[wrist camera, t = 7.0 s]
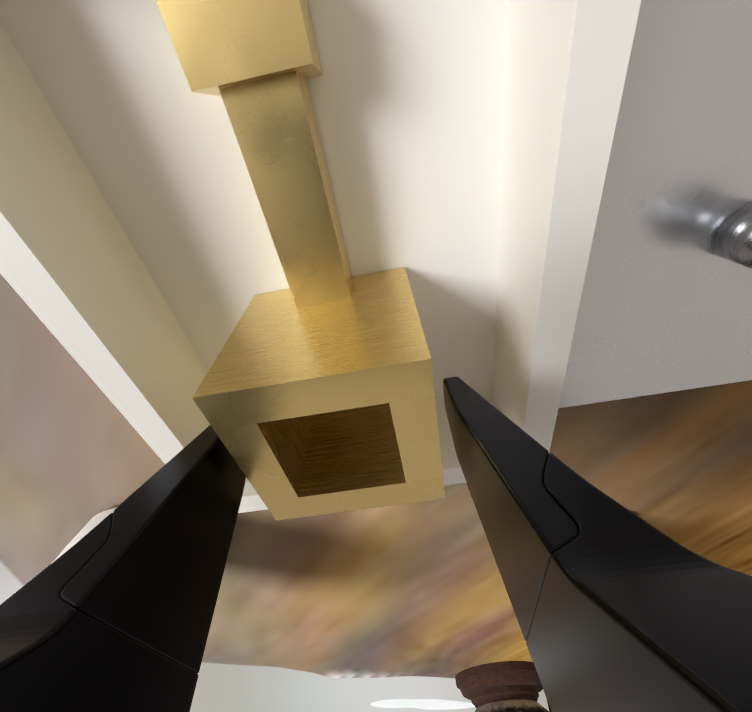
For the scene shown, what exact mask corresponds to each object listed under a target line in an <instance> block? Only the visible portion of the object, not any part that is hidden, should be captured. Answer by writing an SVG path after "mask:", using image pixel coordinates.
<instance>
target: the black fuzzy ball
mask: <svg viewBox="0 0 752 712" xmlns="http://www.w3.org/2000/svg"><path fill="white" fill-rule="evenodd" d="M455 679H456V685H457V688H459V689H460V690H461V692H462V694H463V696H464V697H465V698H467V699H469V700H471V701H472V704H473V705H475V707H476V708H477V709H476V711H475V712H549V711H547V710H546V709H545V708H544V707H542V706H541V705H540V704H539V703H537V700H538V696H539V694H538V692H540V691H541V690H542V689H543V687H542V684H541V681H540V679H539V676H538V673H537V671H536V668H535V665H534V663H533V662H524V661H507V662H496V663H489V664H483V665H479V666H475V667H472V668H468V669H466V670H463V671H461V672H460V673H458V674H457V675H456V677H455Z"/></svg>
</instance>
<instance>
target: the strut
mask: <svg viewBox="0 0 752 712" xmlns="http://www.w3.org/2000/svg"><path fill="white" fill-rule="evenodd" d="M156 3H157V5H158V8H159V10H160V13H161V15H162V18H163V20H164V23H165V25H166V28H167V31H168V33H169V36H170V38H171V41H172V43H173V46H174V48H175V51H176V53H177V56H178V58H179V61H180V63H181V66H182V69H183V71H184V74H185V76H186V79H187V81H188V84H189V86H190V89H191V91H192V92H196V93H202V94H208V95H214V96H220V97H222V99H223V102H224V105H225V108H226V110H227V113H228V116H229V119H230V122H231V124H232V127H233V130H234V133H235V136H236V139H237V141H238V144H239V147H240V150H241V153H242V155H243V158H244V161H245V164H246V167H247V169H248V172H249V175H250V178H251V181H252V183H253V186H254V189H255V192H256V195H257V197H258V200H259V203H260V206H261V209H262V212H263V214H264V217H265V220H266V223H267V226H268V228H269V231H270V234H271V237H272V240H273V242H274V245H275V248H276V251H277V254H278V256H279V259H280V262H281V265H282V268H283V271H284V273H285V276H286V279H287V282H288V285H289V287H290V288H288V289H283V290H278V291H272V292H267V293H261V294H256V295H254V297H253V299H252V300H251V302H250V304H249V305H248V307H247V309H246V310H245V312H244V313H243V315H242V317H241V318H240V320H239V322H238V323H237V325H236V327H235V328H234V330H233V332H232V333H231V335H230V336H229V338H228V340H227V341H226V343H225V345H224V346H223V348H222V350H221V351H220V353H219V355H218V356H217V358H216V359H215V361H214V363H213V364H212V366H211V368H210V369H209V371H208V373H207V374H206V376H205V378H204V379H203V381H202V382H201V384H200V386H199V387H198V389H197V391H196V392H195V394H194V396H193V397H192V399H193V400H194V402H195V403H196V404H197V406H198V407H199V409H200V410H201V412H202V413H203V415H204V416H205V418H206V419H207V421H208V422H209V423H210V425H211V426H212V428H213V429H214V431H215V432H216V434H217V435H218V437H219V438H220V439H221V441H222V442H223V444H224V445H225V447H226V448H227V450H228V451H229V453H230V454H231V456H232V457H233V458H234V460H235V461H236V463H237V464H238V466H239V467H240V469H241V470H242V472H243V473H244V475H245V476H246V477H247V479H248V480H249V482H250V483H251V485H252V486H253V488H254V489H255V491H256V492H257V493H258V495H259V496H260V498H261V499H262V501H263V502H264V504H265V505H266V507H267V508H268V510H269V511H270V512H271V514H272V515H273V517H274V518H275V520H276V521H277V520H285V519H292V518H300V517H307V516H315V515H323V514H330V513H338V512H345V511H353V510H360V509H368V508H376V507H383V506H391V505H398V504H406V503H414V502H421V501H429V500H436V499H444V498H445V491H444V481H443V471H442V461H441V451H440V441H439V431H438V421H437V411H436V401H435V391H434V381H433V371H432V361H431V356H430V353H429V349H428V346H427V342H426V339H425V336H424V332H423V329H422V325H421V322H420V318H419V315H418V312H417V308H416V305H415V301H414V298H413V294H412V291H411V288H410V284H409V281H408V277H407V274H406V270H405V267H402V268H396V269H391V270H386V271H380V272H375V273H369V274H364V275H359V276H353V277H352V272H351V268H350V264H349V259H348V255H347V251H346V246H345V242H344V238H343V233H342V229H341V225H340V221H339V216H338V212H337V208H336V203H335V199H334V195H333V190H332V186H331V182H330V177H329V173H328V169H327V164H326V160H325V156H324V151H323V147H322V143H321V138H320V134H319V130H318V126H317V121H316V117H315V113H314V108H313V104H312V100H311V95H310V91H309V87H308V82H307V79H308V78H312V77H317V76H321V75H323V72H322V67H321V62H320V58H319V53H318V48H317V43H316V38H315V34H314V29H313V24H312V19H311V14H310V10H309V5H308V0H156Z"/></svg>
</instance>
